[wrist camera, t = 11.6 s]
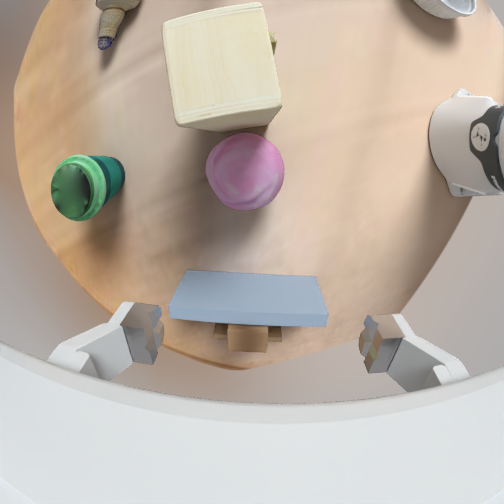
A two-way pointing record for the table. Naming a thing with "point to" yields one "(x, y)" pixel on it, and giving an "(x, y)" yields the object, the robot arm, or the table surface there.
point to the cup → (85, 185)
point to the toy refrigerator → (222, 68)
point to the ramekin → (448, 7)
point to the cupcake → (245, 171)
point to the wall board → (249, 301)
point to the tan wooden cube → (247, 337)
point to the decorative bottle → (112, 19)
